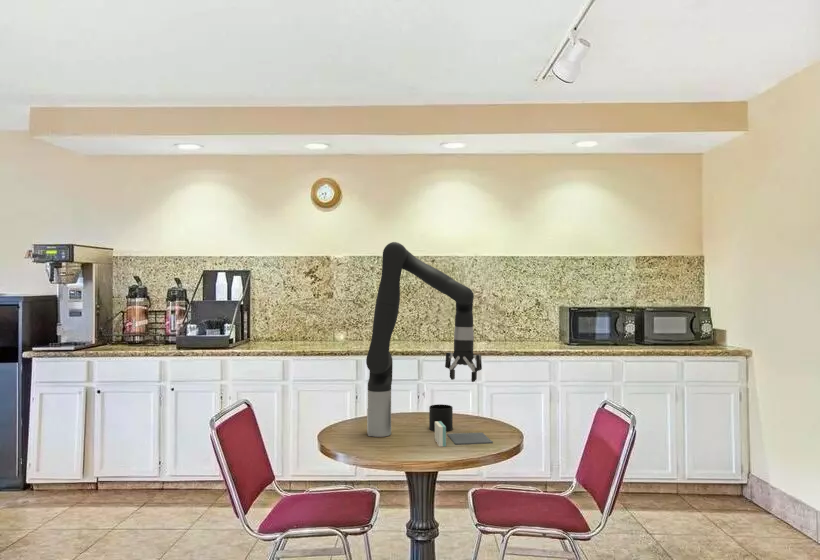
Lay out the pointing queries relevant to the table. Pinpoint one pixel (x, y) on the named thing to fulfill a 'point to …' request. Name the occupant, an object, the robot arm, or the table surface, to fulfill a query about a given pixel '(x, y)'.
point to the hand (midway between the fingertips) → (463, 380)
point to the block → (440, 433)
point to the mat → (469, 438)
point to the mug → (441, 416)
